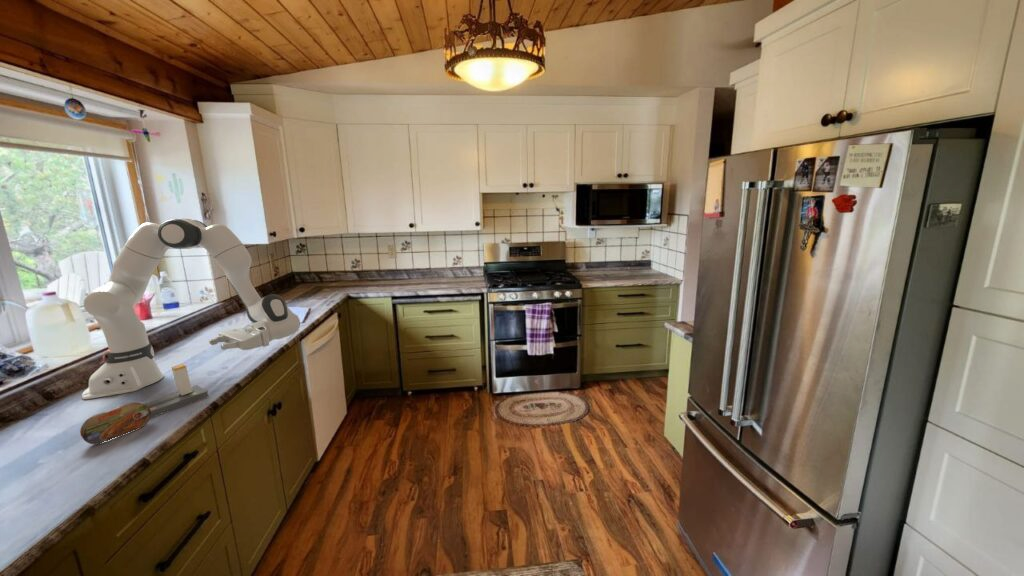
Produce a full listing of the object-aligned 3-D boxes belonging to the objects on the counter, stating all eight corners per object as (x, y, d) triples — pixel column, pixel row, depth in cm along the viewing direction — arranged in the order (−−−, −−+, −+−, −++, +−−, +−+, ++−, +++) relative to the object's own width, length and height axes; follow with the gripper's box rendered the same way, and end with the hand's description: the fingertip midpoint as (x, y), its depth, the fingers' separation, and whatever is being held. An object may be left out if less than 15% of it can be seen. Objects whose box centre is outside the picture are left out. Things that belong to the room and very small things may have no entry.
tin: (86, 450, 113) (77, 423, 111) (83, 447, 115) (74, 420, 113) (154, 423, 125) (147, 398, 123) (150, 421, 127) (143, 396, 125)
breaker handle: (181, 395, 137) (174, 368, 135) (178, 393, 139) (171, 367, 137) (192, 391, 140) (185, 365, 138) (188, 389, 141) (182, 363, 139)
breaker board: (142, 421, 127) (140, 415, 126) (132, 413, 132) (131, 407, 131) (208, 396, 141) (207, 390, 141) (197, 390, 146) (196, 384, 146)
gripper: (242, 322, 162) (202, 332, 151) (268, 330, 151) (226, 341, 140) (245, 337, 163) (205, 348, 152) (271, 346, 152) (230, 358, 141)
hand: (215, 345), depth 146 cm, fingers open, 8 cm apart
